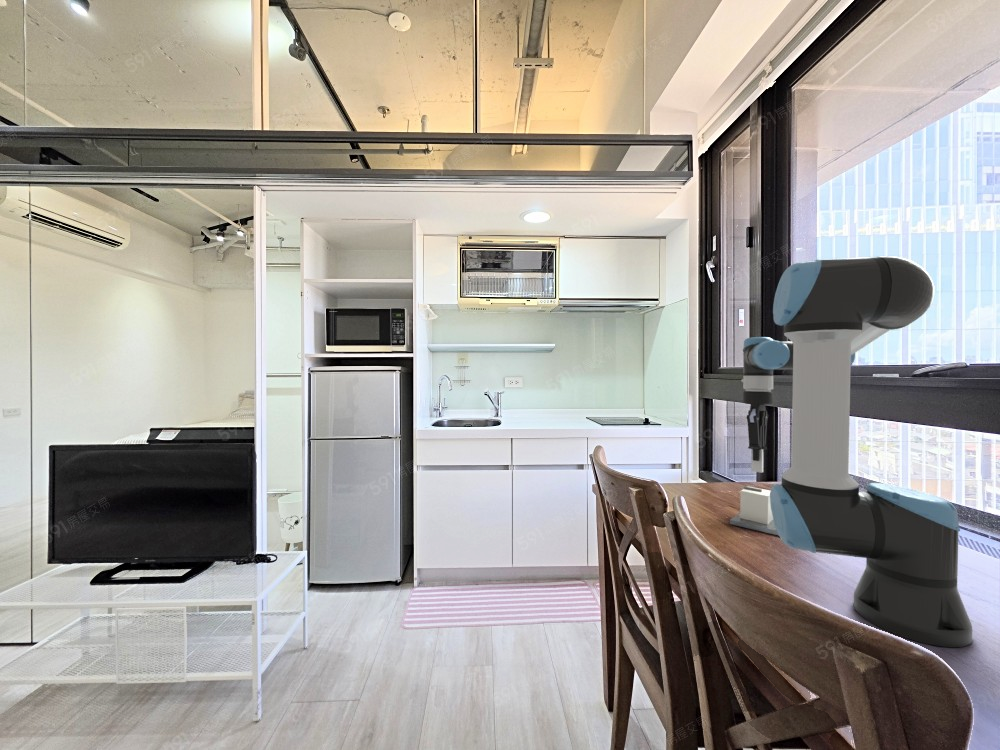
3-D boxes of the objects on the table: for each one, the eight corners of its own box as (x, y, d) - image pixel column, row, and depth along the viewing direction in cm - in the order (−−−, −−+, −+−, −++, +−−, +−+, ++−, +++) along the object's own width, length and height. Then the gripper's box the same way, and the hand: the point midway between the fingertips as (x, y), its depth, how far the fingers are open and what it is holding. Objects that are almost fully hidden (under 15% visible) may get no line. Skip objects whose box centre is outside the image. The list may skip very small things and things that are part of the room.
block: (773, 518, 124) (774, 489, 124) (767, 524, 119) (768, 494, 119) (743, 511, 130) (744, 483, 130) (736, 517, 125) (737, 488, 125)
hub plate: (787, 537, 113) (787, 517, 113) (729, 523, 123) (730, 505, 123) (798, 524, 123) (798, 505, 123) (744, 512, 133) (744, 495, 133)
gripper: (750, 390, 131) (749, 466, 131) (736, 390, 122) (736, 472, 122) (778, 390, 126) (777, 470, 126) (766, 391, 117) (766, 477, 116)
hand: (757, 471), depth 124 cm, fingers closed
